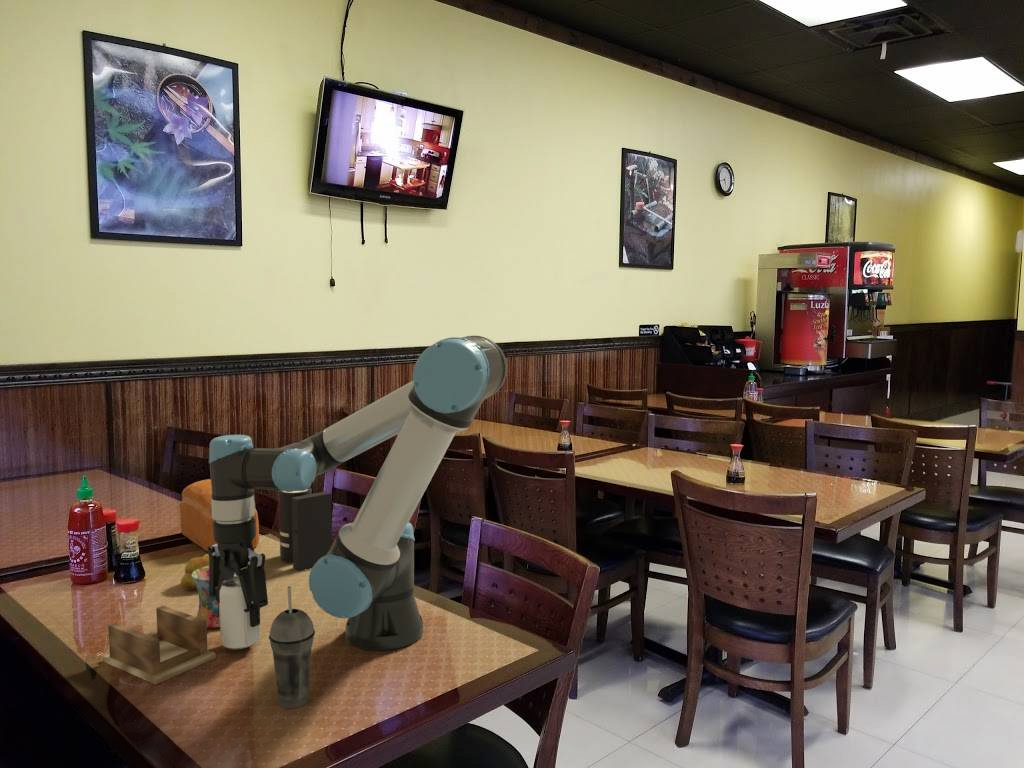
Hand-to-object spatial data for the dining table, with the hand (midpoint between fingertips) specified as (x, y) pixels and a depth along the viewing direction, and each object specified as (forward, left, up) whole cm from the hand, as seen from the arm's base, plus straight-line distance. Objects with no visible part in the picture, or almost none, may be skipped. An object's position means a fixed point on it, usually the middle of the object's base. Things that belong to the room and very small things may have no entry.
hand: (240, 637), depth 149 cm
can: (0, 0, -1) cm, 1 cm away
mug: (+14, -7, -2) cm, 15 cm away
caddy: (+9, +11, -2) cm, 14 cm away
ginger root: (+34, -18, -2) cm, 39 cm away
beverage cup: (-23, +8, -2) cm, 25 cm away
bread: (+60, -41, -2) cm, 72 cm away
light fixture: (+29, -42, -2) cm, 51 cm away
